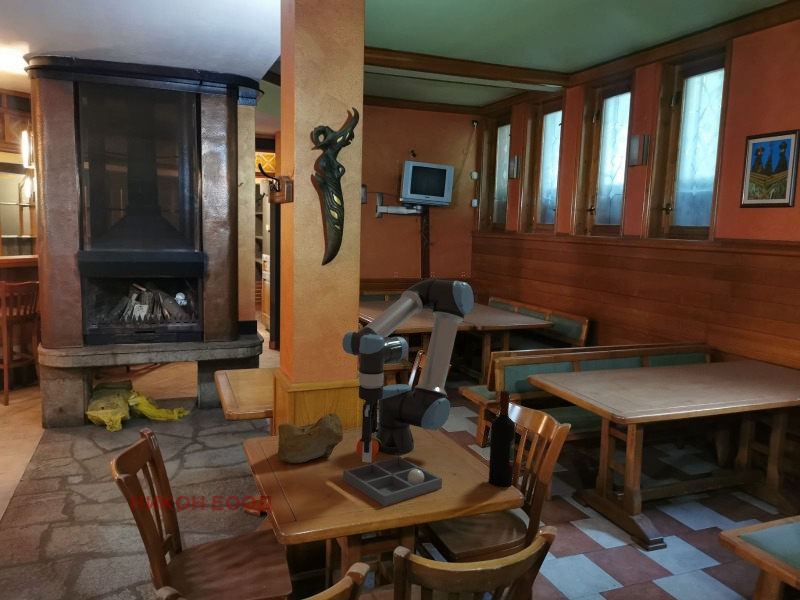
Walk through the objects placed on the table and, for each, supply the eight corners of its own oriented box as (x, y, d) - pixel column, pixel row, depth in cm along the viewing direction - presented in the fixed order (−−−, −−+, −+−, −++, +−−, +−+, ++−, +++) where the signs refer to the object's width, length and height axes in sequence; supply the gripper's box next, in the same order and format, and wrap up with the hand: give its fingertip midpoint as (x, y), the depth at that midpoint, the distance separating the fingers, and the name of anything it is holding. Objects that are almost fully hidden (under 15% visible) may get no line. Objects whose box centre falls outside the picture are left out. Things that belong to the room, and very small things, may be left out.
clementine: (382, 454, 190) (383, 432, 189) (380, 462, 183) (381, 440, 182) (357, 453, 190) (358, 431, 190) (354, 461, 184) (355, 439, 183)
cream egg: (416, 480, 190) (417, 465, 189) (427, 486, 185) (428, 470, 185) (403, 484, 186) (404, 468, 186) (414, 490, 182) (414, 474, 182)
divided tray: (398, 467, 202) (398, 456, 202) (441, 490, 185) (442, 478, 185) (343, 482, 189) (343, 470, 188) (384, 509, 172) (384, 496, 171)
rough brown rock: (331, 445, 224) (329, 405, 223) (347, 457, 209) (345, 414, 208) (269, 455, 213) (267, 414, 213) (281, 469, 199) (279, 424, 198)
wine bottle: (487, 477, 196) (491, 388, 193) (510, 478, 196) (515, 389, 193) (490, 487, 189) (494, 394, 185) (514, 487, 189) (519, 395, 185)
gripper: (364, 377, 194) (363, 445, 197) (352, 393, 175) (350, 468, 177) (387, 378, 193) (385, 446, 196) (377, 394, 174) (375, 470, 176)
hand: (368, 457), depth 187 cm, fingers closed on clementine, 7 cm apart
